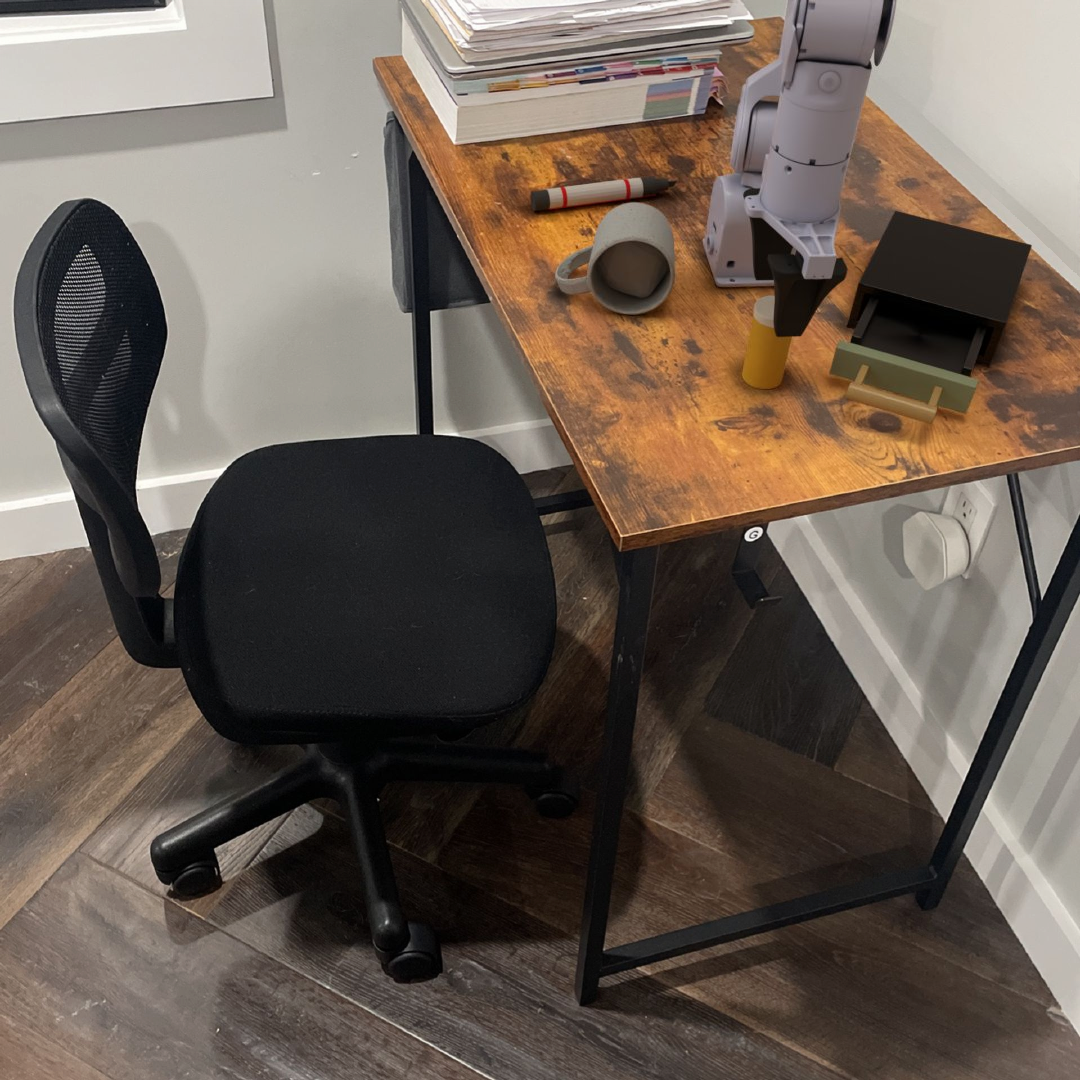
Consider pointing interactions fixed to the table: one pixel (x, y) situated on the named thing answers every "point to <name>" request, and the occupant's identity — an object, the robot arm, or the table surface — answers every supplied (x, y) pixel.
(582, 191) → the marker
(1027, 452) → the table surface
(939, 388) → the drawer
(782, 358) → the pill bottle
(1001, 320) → the cabinet
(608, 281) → the ceramic mug
